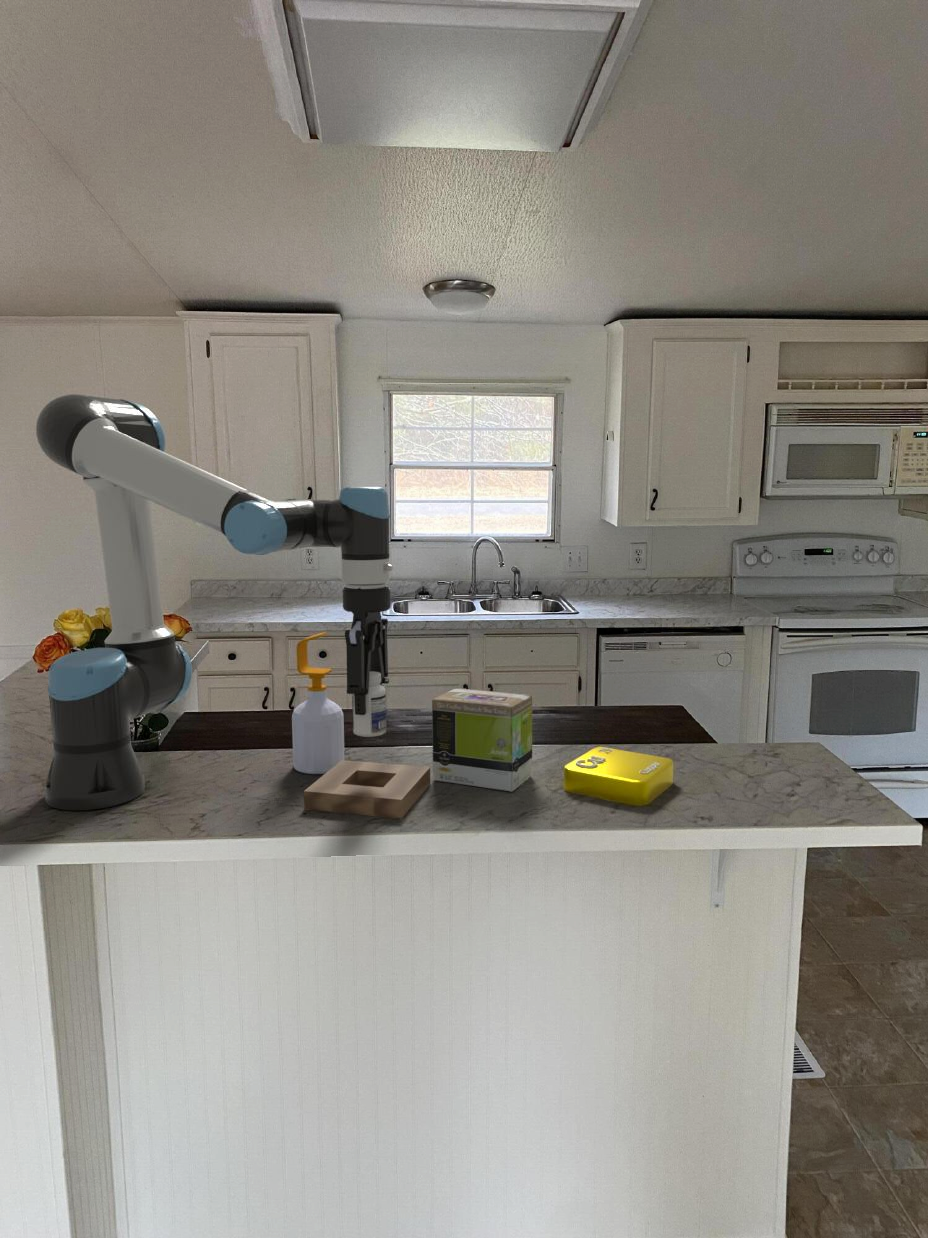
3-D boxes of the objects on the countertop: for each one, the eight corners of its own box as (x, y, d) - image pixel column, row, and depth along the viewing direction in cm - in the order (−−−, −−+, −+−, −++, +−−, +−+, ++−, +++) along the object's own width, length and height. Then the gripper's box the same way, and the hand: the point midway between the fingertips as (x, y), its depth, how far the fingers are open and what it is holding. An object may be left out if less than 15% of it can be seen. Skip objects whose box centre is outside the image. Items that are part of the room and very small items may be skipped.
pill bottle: (348, 730, 144) (347, 671, 142) (380, 726, 146) (379, 669, 144) (358, 739, 139) (357, 678, 137) (390, 735, 141) (389, 675, 139)
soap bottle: (334, 776, 154) (331, 638, 150) (285, 773, 155) (281, 636, 152) (351, 760, 162) (348, 629, 158) (304, 757, 164) (300, 627, 160)
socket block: (304, 809, 138) (303, 791, 138) (342, 776, 154) (341, 760, 153) (401, 818, 134) (401, 799, 134) (430, 784, 150) (430, 767, 149)
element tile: (644, 810, 139) (645, 781, 138) (558, 792, 147) (559, 764, 146) (676, 783, 152) (677, 756, 151) (596, 768, 160) (596, 742, 159)
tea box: (533, 776, 154) (534, 693, 152) (512, 794, 145) (512, 707, 143) (455, 764, 160) (455, 685, 158) (430, 781, 151) (430, 697, 149)
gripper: (368, 593, 129) (372, 746, 132) (406, 579, 147) (408, 715, 150) (321, 591, 131) (325, 743, 134) (364, 578, 148) (367, 712, 152)
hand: (369, 728), depth 142 cm, fingers closed on pill bottle, 5 cm apart
